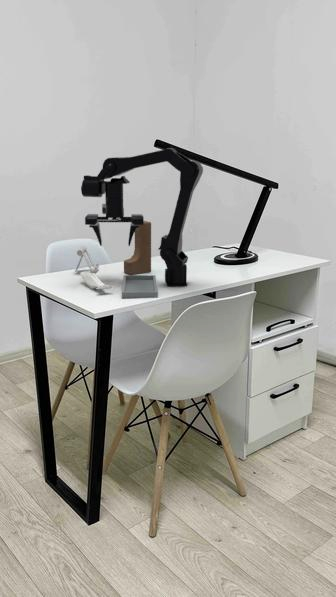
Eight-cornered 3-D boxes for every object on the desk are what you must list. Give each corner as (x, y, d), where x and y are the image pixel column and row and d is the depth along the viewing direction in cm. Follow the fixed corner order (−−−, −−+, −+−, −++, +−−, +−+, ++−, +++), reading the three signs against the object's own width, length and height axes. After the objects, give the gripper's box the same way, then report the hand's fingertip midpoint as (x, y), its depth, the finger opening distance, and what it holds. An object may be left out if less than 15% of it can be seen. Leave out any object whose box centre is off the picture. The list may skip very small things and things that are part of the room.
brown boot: (129, 275, 196) (129, 223, 191) (123, 272, 199) (122, 222, 195) (151, 272, 201) (151, 222, 196) (145, 269, 204) (145, 220, 199)
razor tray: (155, 281, 188) (155, 275, 187) (157, 298, 166) (157, 292, 165) (123, 281, 187) (123, 275, 187) (121, 298, 165) (121, 292, 165)
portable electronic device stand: (96, 273, 198) (95, 250, 196) (74, 273, 198) (73, 249, 196) (99, 268, 207) (98, 245, 204) (77, 268, 207) (77, 245, 204)
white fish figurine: (92, 281, 186) (92, 269, 185) (113, 293, 171) (113, 281, 170) (76, 283, 184) (76, 271, 183) (97, 295, 169) (96, 283, 168)
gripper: (143, 195, 188) (143, 241, 192) (87, 195, 187) (88, 241, 191) (143, 198, 177) (143, 247, 181) (84, 198, 176) (85, 247, 180)
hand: (115, 245), depth 183 cm, fingers open, 9 cm apart
